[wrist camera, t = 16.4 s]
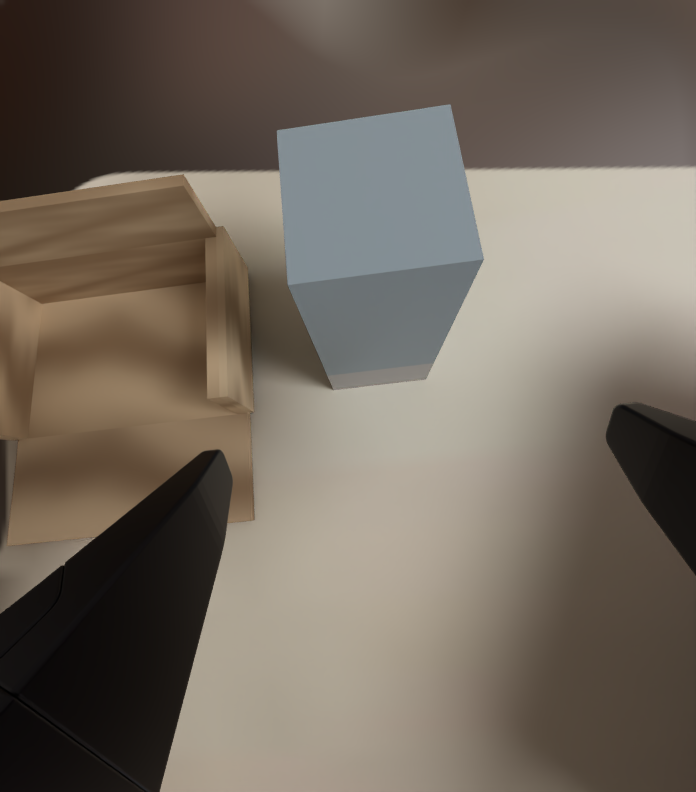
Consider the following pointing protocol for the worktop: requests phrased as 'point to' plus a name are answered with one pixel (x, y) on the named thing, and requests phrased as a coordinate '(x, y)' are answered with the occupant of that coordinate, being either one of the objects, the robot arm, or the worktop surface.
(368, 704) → the worktop surface
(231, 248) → the kraft carton
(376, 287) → the slate block
